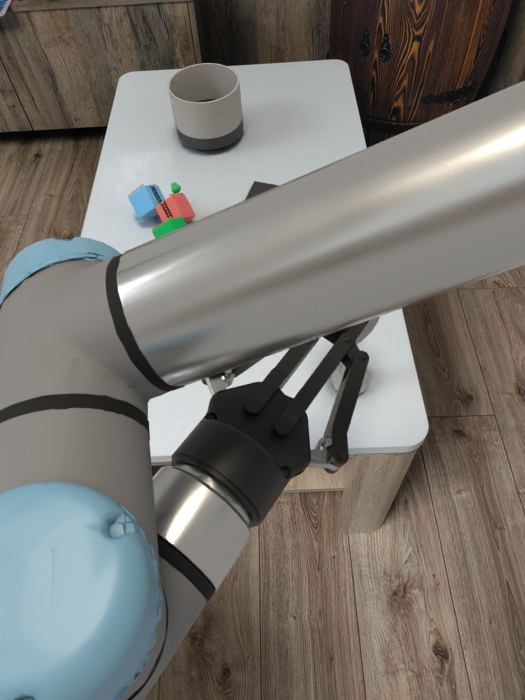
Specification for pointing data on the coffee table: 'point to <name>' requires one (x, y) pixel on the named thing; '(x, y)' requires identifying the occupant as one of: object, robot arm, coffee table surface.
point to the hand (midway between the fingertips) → (367, 286)
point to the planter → (206, 105)
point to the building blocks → (162, 207)
